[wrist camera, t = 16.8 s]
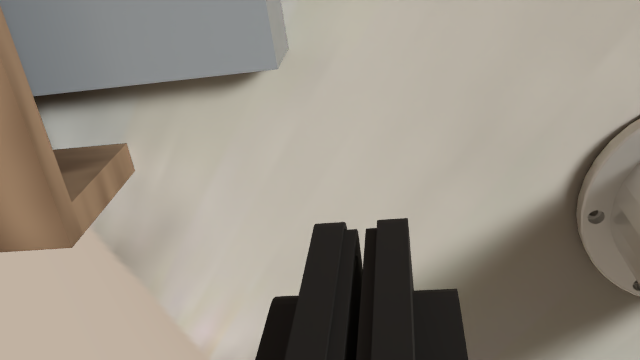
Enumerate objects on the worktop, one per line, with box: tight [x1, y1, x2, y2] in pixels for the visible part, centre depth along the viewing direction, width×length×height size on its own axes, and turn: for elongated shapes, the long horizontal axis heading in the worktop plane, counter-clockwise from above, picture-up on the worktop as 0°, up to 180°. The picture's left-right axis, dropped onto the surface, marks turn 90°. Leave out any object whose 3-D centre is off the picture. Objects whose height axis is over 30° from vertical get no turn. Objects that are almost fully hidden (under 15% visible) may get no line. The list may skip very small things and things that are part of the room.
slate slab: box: [0, 0, 289, 96], centre depth 31 cm, size 16×5×4 cm, turn 98°
